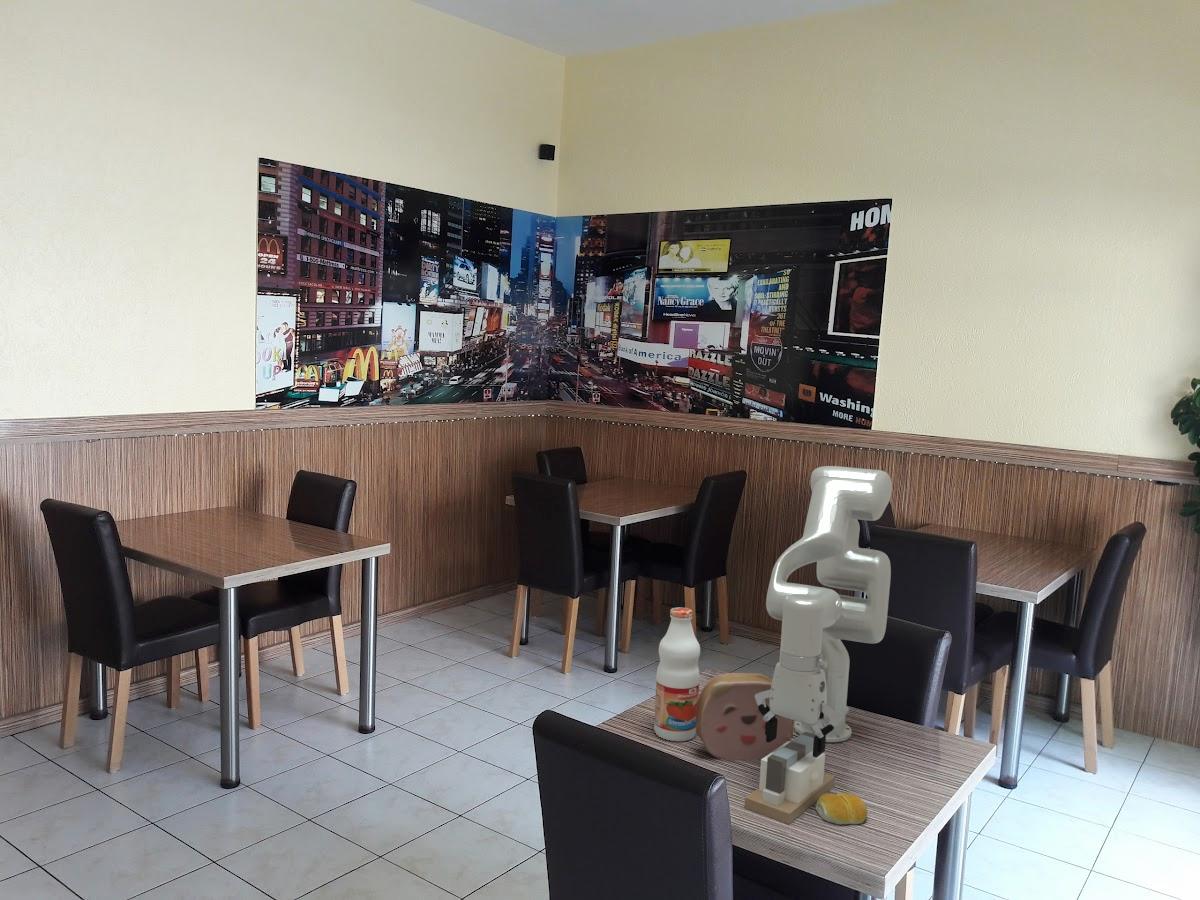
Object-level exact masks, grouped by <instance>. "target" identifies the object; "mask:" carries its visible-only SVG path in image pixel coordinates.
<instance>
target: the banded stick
mask: <svg viewBox="0 0 1200 900" xmlns="http://www.w3.org/2000/svg"><path fill="white" fill-rule="evenodd" d="M815 736H816V735H815V734H811V733H808V732H804V733H803V734H801V735H800V734H798V736H797V737H795V738H794V739H791V740H790V741H789V742H790V743H788V744H787V745H785V746H784V747H782V748H781V749H779V750H778V751H776V752H775V753H773V754H772V755H771V756H769V757H768V759H767V774H766V789H768V790H771V791H774V792H777V793H779V794H781V793H782V792H783V791H784V784H785V770H787V769H788V768H789V767H791V766H792V765H794V764H795V763H796V762H797V761H799V760H800V759H801V758H803V757H804V756H806V755H807V754H809V753H810V752H811V751H813V743H814V737H815Z"/></svg>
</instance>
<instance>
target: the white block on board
mask: <svg viewBox="0 0 1200 900" xmlns="http://www.w3.org/2000/svg"><path fill="white" fill-rule="evenodd" d="M790 742H791V741H788V742H786V743H785V744H783V745H782V746H780V747H779V748H777V749H776V750H774V751H773V752H771V753H770V754H769V755H767V756H766V757H764V758H763V759H760V767H759V768H760V771H759V784H758V785H759V786H758V788H756V789H755V790H754V791H752V792H750V793H749V794H748V795H746V797H744V798H745V799H744V809H746V810H749V811H753V812H755V813H757V814H760V815H763V816H764V817H765V816H766V817H768V818H771V819H774V820H776V821H779V822H781V823H784V824H786V825H790V824H791V823H792V822H793V821H795V820H796V819H797V818H798V817H799V816H800V815H802V814H803V813H804V812H806V811H807V810H808V809H809V808H810V807H811V806H812V805H814V804H815V803H817V801H818V798H819V797H820V796H821V795H823V794H826V793H828V792H829V791H830V790H831V789H833V787H835V784H836V783H835V780H836V776H835V775H832V774H830V773H826V772H825V762H826V753H824V752H823V753H822V754H821V755H820V756H818V757H817V758H815V757H813V751H811V752H810V753H809V754H807V755H806V756H804V757H803V758H801V759H800V760H799V761H797V762H796V763H795V764H794V765H792V766H791V767H789V768H788V769H787V770H785V784H784V791H783V792H782V793H781V794H779V793H777V792H774V791H771V790H768V789H766V774H767V759H768V757H769V756H771V755H772V754H773V753H775V752H776V751H778V750H779V749H781V748H782V747H784V746H785V745H787V744H788V743H790Z"/></svg>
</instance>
